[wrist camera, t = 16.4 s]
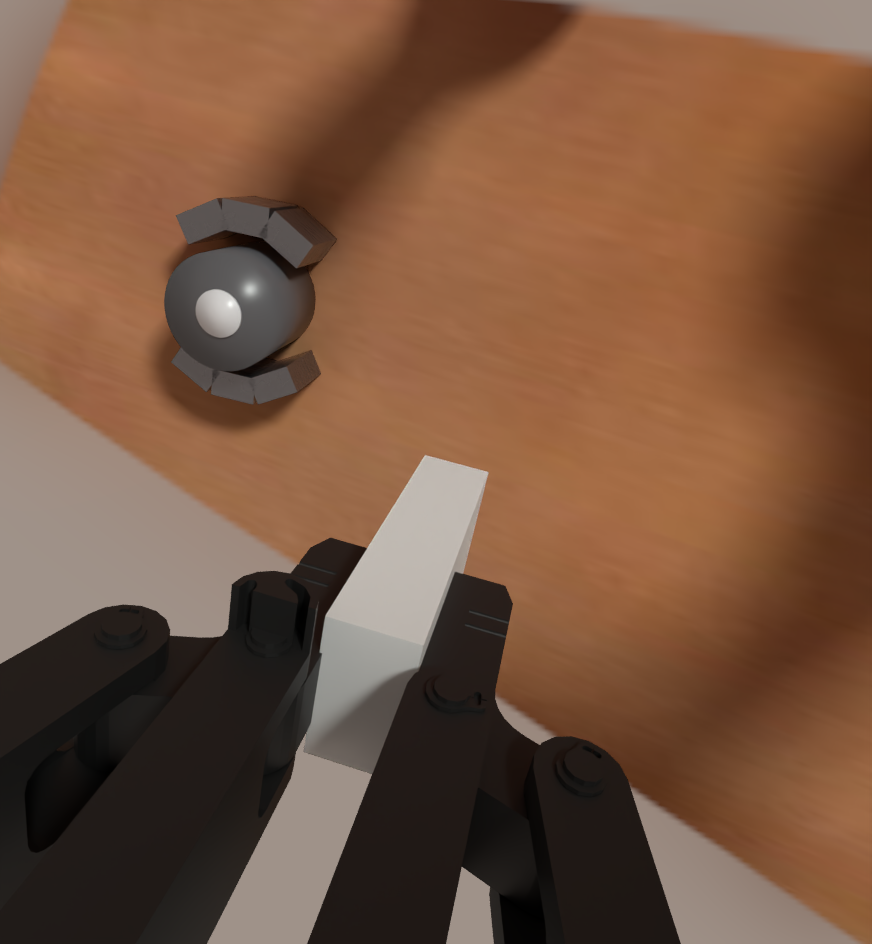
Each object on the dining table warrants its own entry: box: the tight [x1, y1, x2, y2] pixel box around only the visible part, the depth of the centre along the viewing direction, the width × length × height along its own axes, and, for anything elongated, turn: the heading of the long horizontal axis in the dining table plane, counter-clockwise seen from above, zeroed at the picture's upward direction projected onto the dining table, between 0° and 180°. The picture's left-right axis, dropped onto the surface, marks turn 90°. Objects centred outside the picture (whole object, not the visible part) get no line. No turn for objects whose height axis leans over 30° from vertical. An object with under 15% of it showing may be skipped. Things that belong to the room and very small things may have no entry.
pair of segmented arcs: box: [171, 196, 337, 404], centre depth 40 cm, size 10×7×4 cm
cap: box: [164, 242, 315, 371], centre depth 39 cm, size 6×6×6 cm
